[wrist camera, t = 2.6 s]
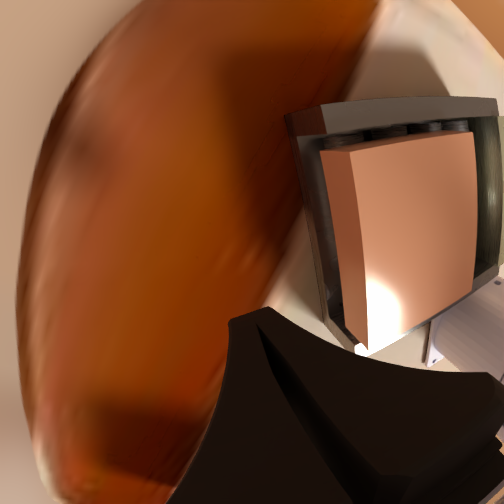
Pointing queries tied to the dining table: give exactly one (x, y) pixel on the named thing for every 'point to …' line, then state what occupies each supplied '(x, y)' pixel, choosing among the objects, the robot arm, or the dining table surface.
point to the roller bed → (318, 192)
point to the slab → (402, 228)
